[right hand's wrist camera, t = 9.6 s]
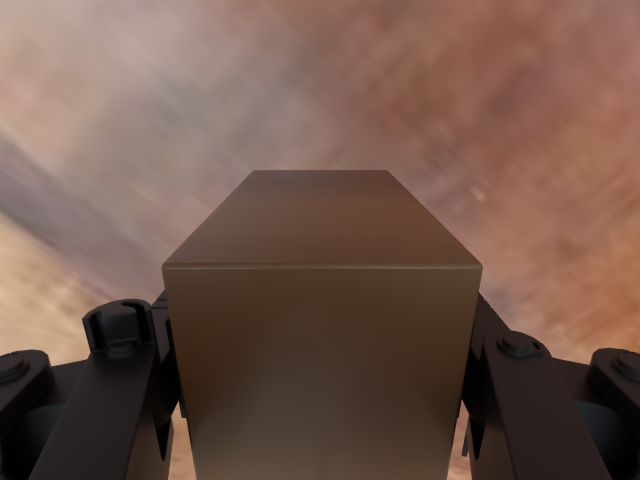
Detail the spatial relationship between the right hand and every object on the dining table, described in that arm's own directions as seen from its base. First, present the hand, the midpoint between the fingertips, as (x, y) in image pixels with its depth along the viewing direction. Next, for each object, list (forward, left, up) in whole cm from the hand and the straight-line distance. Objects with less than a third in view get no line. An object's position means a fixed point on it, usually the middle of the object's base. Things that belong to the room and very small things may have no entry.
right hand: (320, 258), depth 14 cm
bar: (+8, +6, -1) cm, 10 cm away
